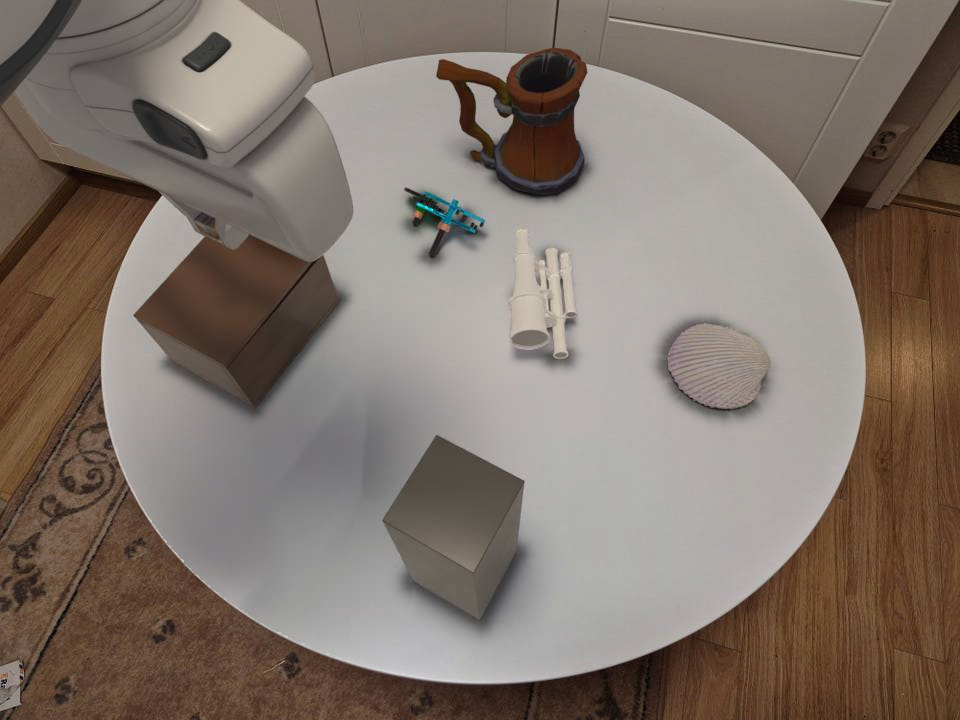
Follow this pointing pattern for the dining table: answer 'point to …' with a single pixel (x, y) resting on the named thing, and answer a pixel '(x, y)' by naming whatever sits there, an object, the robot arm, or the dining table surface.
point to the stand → (457, 525)
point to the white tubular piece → (540, 298)
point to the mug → (528, 118)
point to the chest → (264, 339)
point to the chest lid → (221, 296)
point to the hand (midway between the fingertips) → (224, 234)
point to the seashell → (718, 365)
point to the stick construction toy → (446, 221)
